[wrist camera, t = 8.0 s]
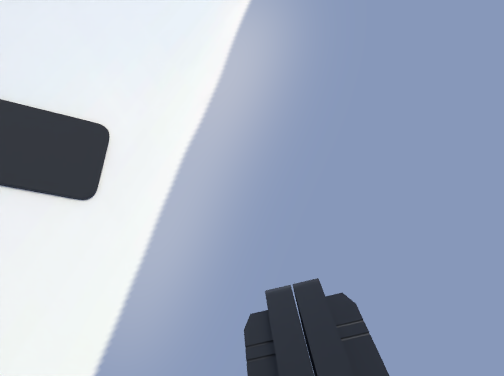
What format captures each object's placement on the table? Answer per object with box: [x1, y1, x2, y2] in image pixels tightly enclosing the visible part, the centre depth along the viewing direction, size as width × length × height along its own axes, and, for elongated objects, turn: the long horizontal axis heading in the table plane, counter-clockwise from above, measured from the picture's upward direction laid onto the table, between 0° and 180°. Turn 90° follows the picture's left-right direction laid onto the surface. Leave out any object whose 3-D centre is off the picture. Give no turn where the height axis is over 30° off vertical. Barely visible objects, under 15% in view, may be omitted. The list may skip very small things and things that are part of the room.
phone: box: [0, 99, 109, 200], centre depth 34 cm, size 7×1×15 cm
